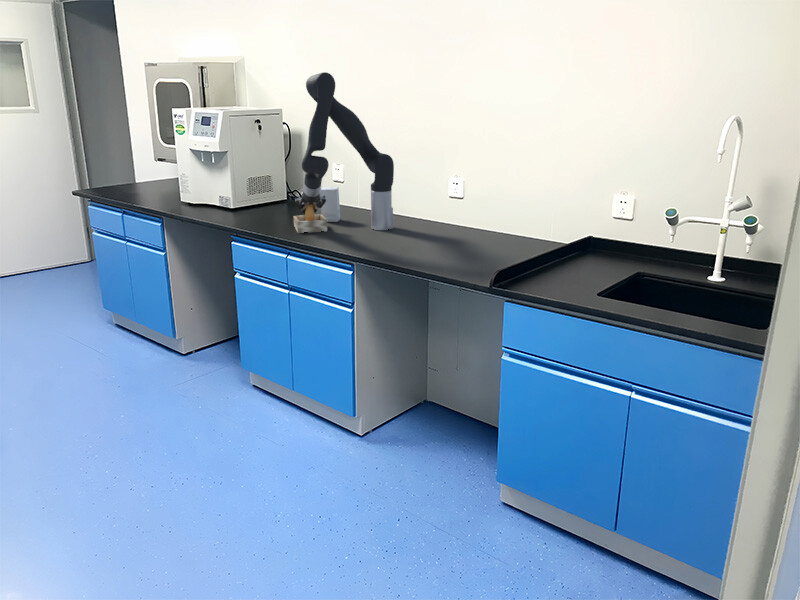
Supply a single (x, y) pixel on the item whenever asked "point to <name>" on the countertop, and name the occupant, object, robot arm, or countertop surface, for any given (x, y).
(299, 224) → the box
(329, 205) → the skincare box
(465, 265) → the countertop surface
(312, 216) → the peg
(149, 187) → the countertop surface
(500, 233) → the countertop surface
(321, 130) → the robot arm
